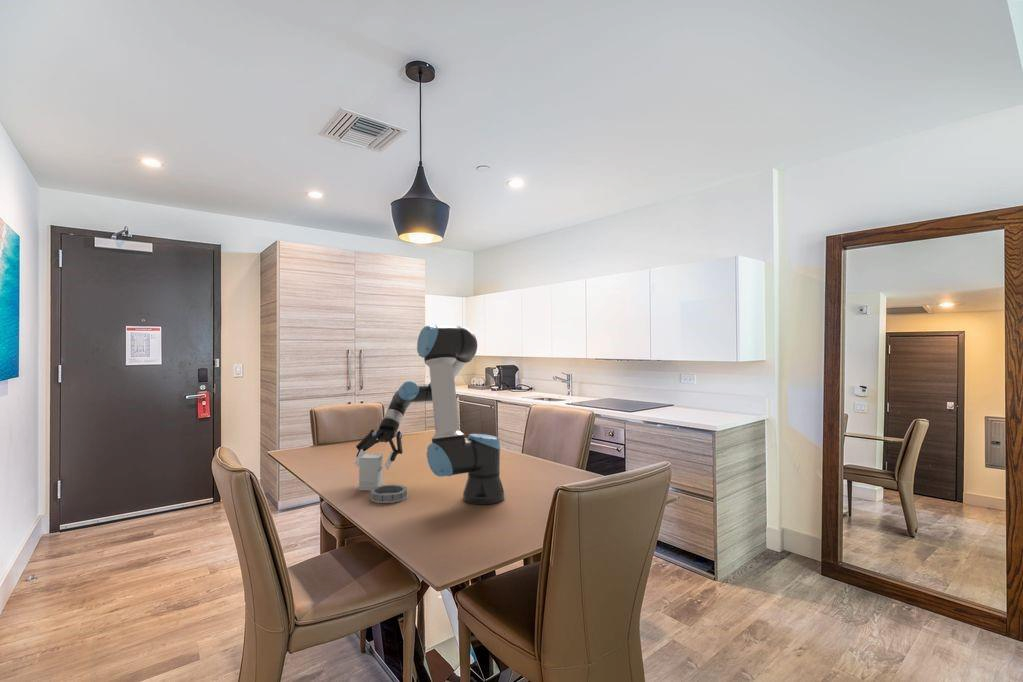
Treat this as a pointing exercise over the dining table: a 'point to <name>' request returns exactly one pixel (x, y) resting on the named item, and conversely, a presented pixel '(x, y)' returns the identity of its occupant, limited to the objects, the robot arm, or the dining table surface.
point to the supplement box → (370, 471)
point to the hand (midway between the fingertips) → (371, 466)
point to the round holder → (388, 493)
